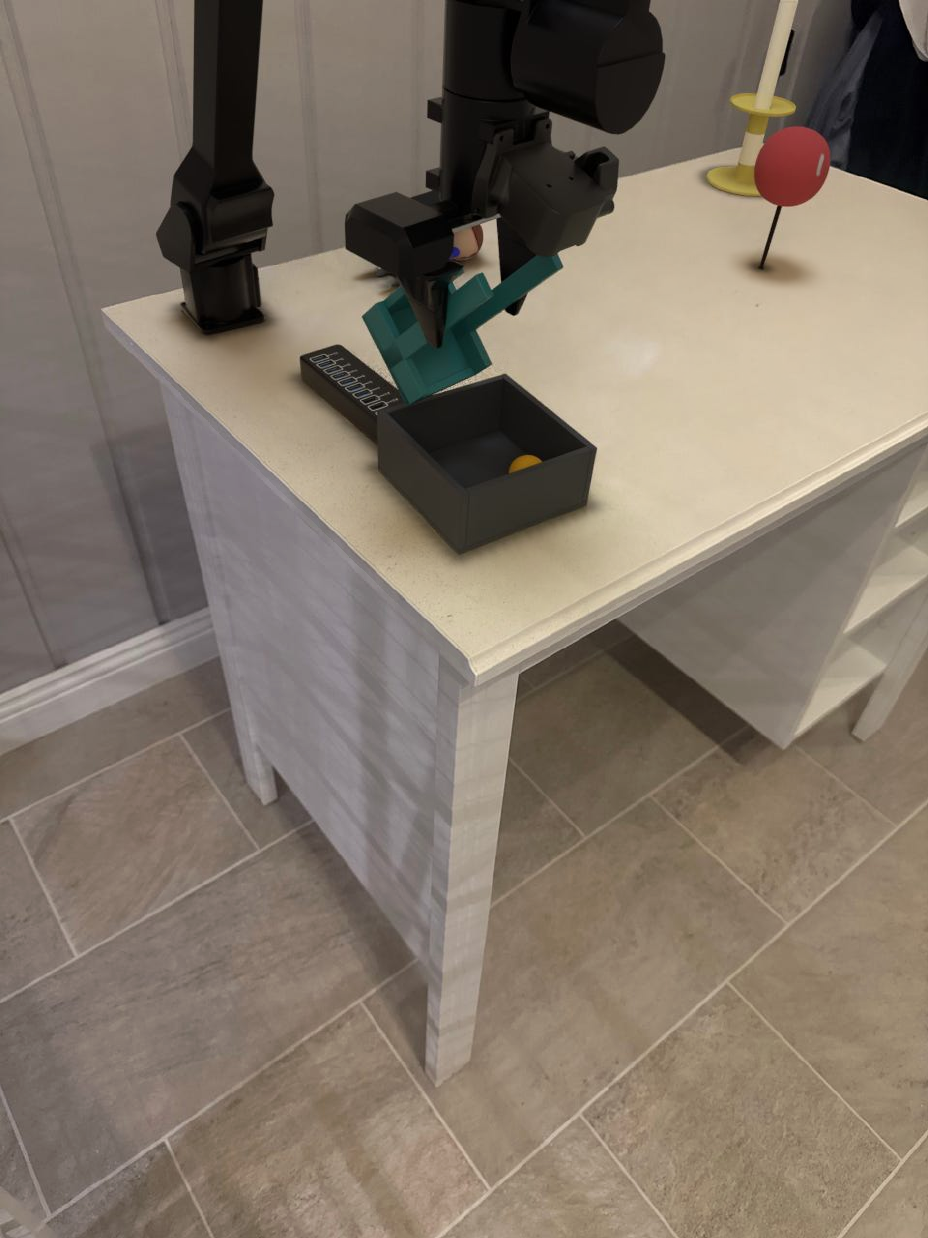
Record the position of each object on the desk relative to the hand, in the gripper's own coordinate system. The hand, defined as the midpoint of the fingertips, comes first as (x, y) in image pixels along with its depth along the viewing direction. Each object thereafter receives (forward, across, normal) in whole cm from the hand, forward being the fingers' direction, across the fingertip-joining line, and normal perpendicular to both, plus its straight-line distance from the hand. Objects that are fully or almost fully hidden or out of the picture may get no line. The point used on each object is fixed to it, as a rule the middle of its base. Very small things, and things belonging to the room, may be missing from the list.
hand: (473, 329), depth 66 cm
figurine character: (+13, +23, +30) cm, 40 cm away
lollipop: (+13, +55, +7) cm, 57 cm away
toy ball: (+11, +2, -5) cm, 12 cm away
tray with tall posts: (+4, 0, +6) cm, 7 cm away
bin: (+13, 0, -2) cm, 13 cm away
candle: (+13, +76, +24) cm, 81 cm away
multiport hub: (+13, 0, +13) cm, 18 cm away
